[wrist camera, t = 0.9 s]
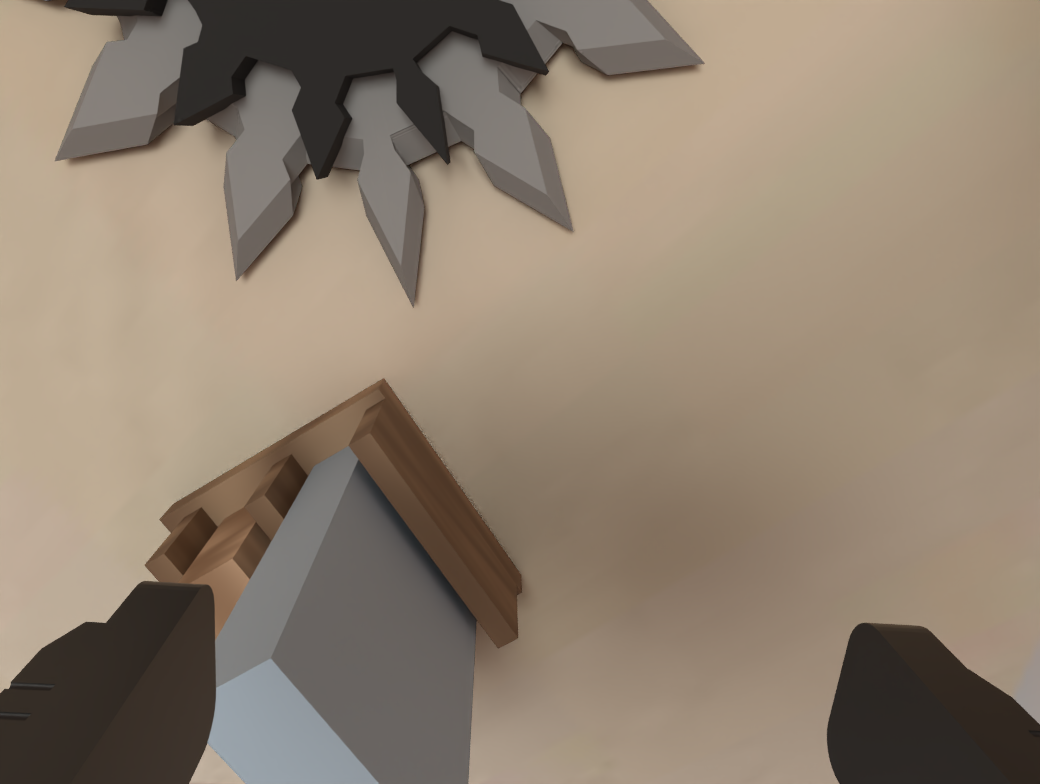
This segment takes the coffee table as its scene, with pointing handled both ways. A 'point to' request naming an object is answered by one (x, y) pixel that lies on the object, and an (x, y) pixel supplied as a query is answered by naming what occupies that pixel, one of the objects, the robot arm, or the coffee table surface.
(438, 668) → the tall board
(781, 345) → the coffee table surface
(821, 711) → the coffee table surface
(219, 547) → the offcut
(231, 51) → the decorative piece
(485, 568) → the rack
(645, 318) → the coffee table surface
